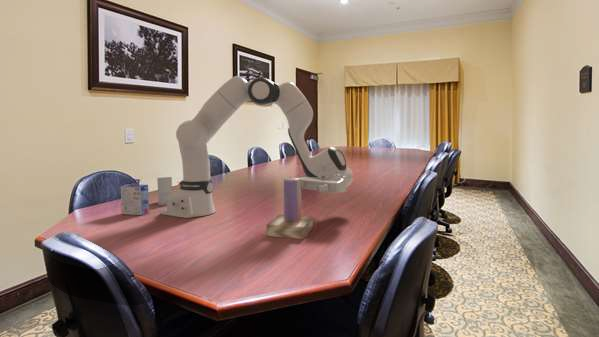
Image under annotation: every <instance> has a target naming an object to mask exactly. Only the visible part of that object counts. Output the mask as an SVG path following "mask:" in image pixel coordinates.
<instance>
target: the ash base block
mask: <svg viewBox="0 0 599 337" xmlns="http://www.w3.org/2000/svg"><path fill="white" fill-rule="evenodd" d="M313 229H314V217H313V216H304V215H301V220H300V221H299V222H296V223H288V222H286V221H285V220H284V214H279V215H277V216H276V217H274V218H273V219H271V221H269V222H268V223H266V236H268V237H276V238H278V237H279V238H287V239H300V240H304V239H305V238H306V237H307V236H308V235H309V234H310V232H311V231H312V230H313Z"/></svg>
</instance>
